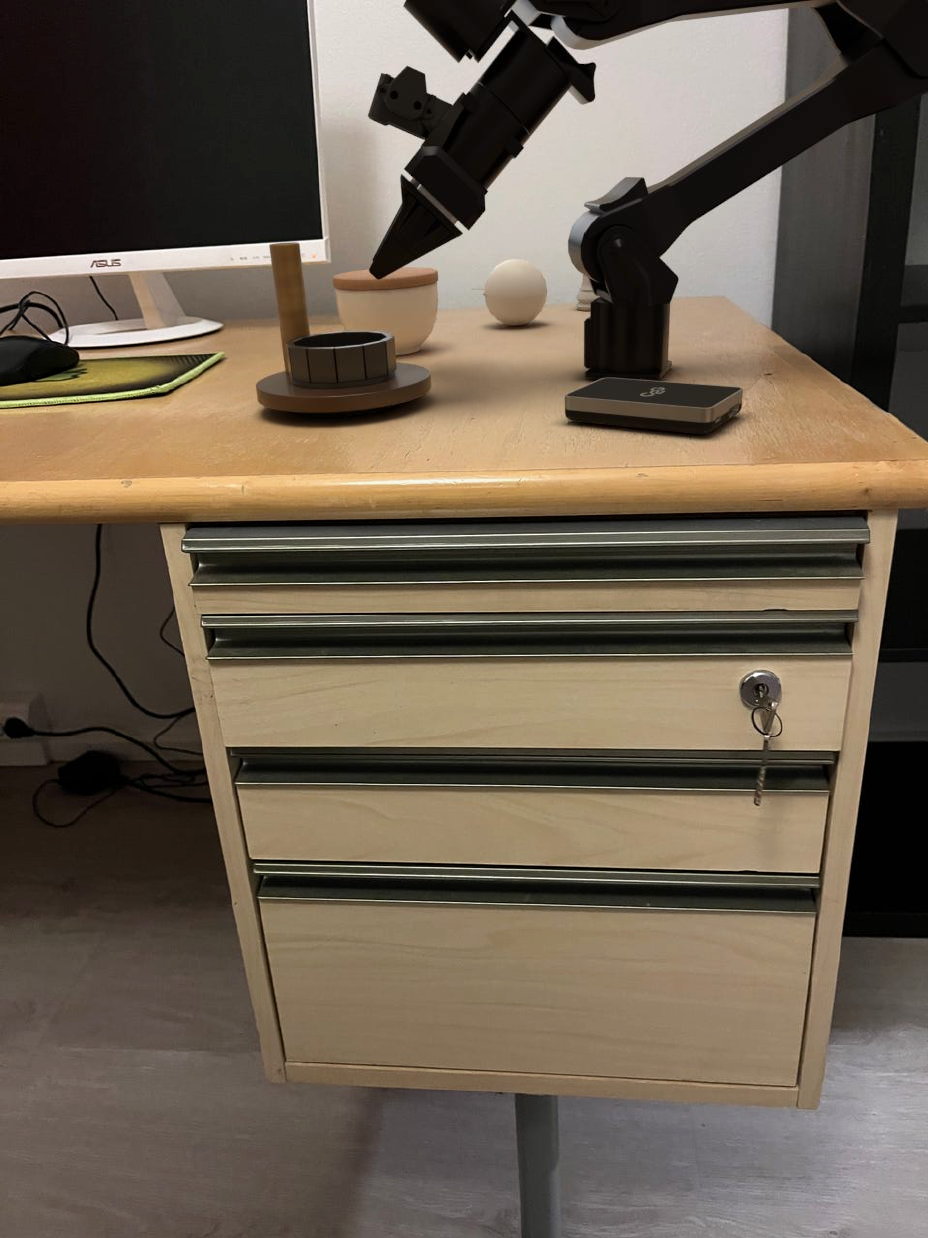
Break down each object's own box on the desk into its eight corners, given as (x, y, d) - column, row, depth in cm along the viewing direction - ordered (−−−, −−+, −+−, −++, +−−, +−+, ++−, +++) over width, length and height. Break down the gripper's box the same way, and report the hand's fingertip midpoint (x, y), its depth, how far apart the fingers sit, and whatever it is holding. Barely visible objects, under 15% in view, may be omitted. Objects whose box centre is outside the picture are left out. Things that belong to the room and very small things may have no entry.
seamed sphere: (561, 323, 111) (560, 256, 108) (515, 332, 107) (514, 262, 104) (502, 317, 118) (500, 254, 115) (457, 325, 114) (454, 260, 111)
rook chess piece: (574, 311, 120) (574, 243, 116) (576, 306, 124) (576, 240, 120) (610, 310, 119) (611, 241, 116) (611, 305, 123) (612, 238, 119)
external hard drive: (708, 439, 63) (710, 408, 62) (560, 423, 69) (559, 395, 68) (743, 415, 68) (745, 387, 67) (602, 403, 74) (603, 376, 73)
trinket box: (429, 359, 94) (422, 258, 90) (326, 361, 96) (315, 262, 92) (452, 341, 104) (447, 249, 100) (358, 342, 106) (349, 252, 102)
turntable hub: (411, 395, 80) (410, 383, 79) (369, 419, 73) (368, 406, 72) (326, 393, 82) (325, 381, 82) (278, 415, 76) (276, 402, 75)
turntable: (467, 385, 77) (460, 237, 72) (332, 421, 68) (313, 254, 63) (355, 369, 86) (342, 236, 81) (223, 399, 77) (199, 251, 72)
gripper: (421, 43, 80) (306, 196, 84) (426, 9, 63) (282, 202, 67) (518, 142, 83) (403, 284, 88) (547, 135, 67) (403, 310, 71)
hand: (374, 269), depth 78 cm, fingers open, 9 cm apart
